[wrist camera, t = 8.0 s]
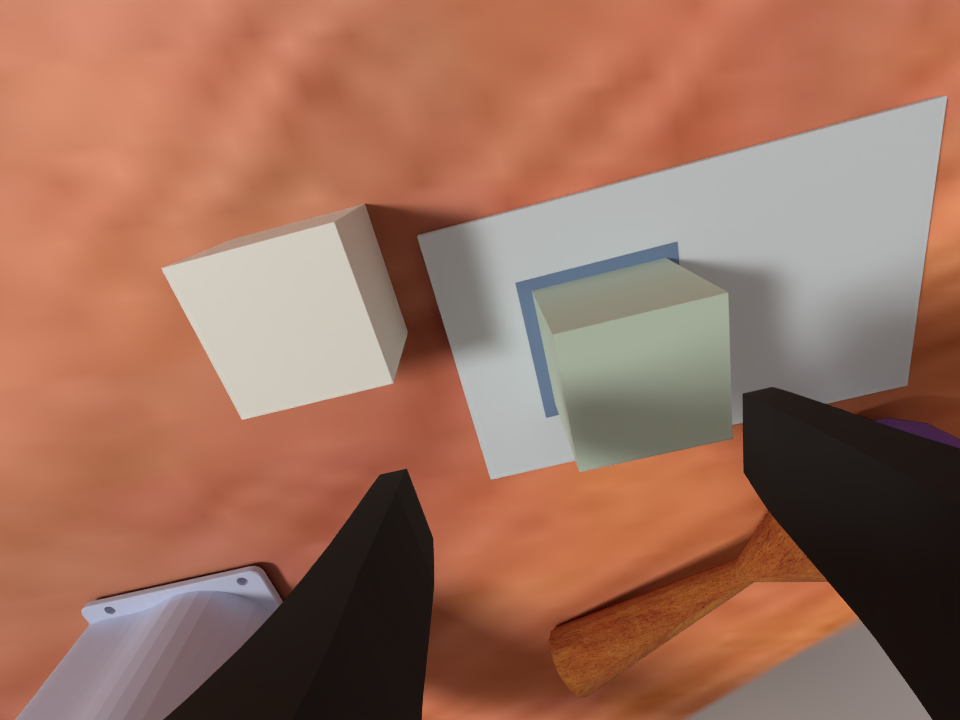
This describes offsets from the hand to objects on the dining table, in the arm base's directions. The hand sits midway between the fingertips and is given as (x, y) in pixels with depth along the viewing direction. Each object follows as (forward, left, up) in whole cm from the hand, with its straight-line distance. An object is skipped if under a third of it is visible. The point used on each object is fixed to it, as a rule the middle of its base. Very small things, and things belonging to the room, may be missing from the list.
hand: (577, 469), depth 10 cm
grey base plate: (+6, -1, -9) cm, 11 cm away
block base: (+3, -1, -9) cm, 9 cm away
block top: (-7, +3, -10) cm, 12 cm away
